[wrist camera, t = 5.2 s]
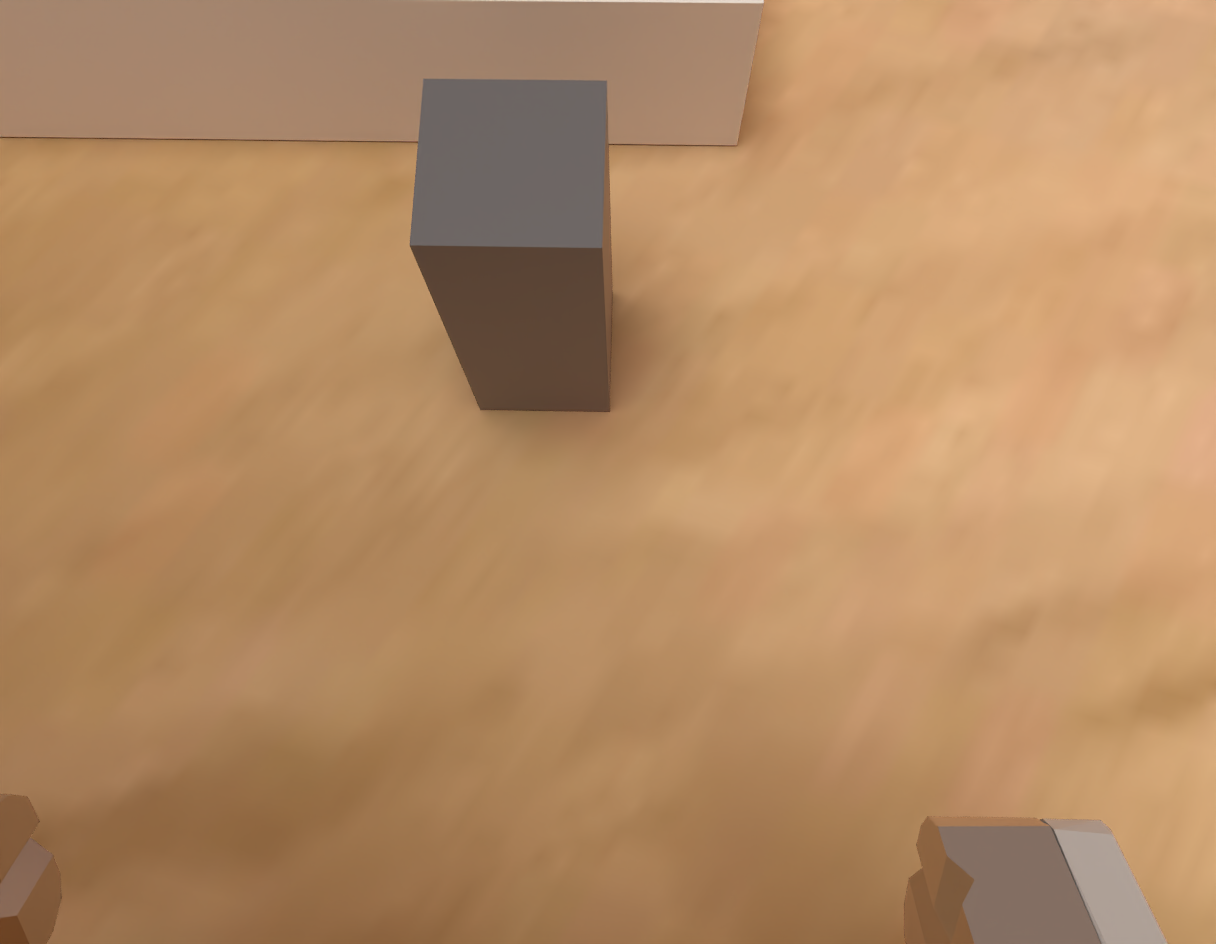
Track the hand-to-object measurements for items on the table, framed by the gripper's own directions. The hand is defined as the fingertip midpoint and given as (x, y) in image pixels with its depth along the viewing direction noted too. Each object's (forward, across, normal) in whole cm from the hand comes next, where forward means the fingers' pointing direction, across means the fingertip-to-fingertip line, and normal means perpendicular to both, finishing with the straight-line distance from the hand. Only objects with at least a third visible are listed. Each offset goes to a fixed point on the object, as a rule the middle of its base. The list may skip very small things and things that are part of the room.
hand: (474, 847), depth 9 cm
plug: (+16, -1, -2) cm, 16 cm away
